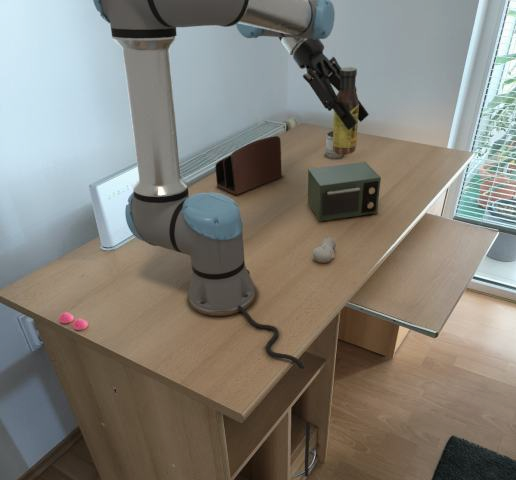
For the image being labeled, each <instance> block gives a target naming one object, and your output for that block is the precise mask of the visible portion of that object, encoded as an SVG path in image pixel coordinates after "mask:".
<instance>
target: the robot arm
mask: <svg viewBox="0 0 516 480" xmlns="http://www.w3.org/2000/svg"><path fill="white" fill-rule="evenodd" d="M92 1H93V4H94V7H95V9H96V11H97V12H99V14H100V17H101V18H102V19H103V20H104V21H105V22H107V23H108V24H110V31H111V38H112V40H113V41H114V42H115V43H116V44H117V45H118V46H119V47H120V48H121V50H122V55H123V56H122V58H123V65H124V74H125V81H126V88H127V89H126V90H127V97H128V104H129V112H130V119H131V126H132V134H133V143H134V150H135V151H134V152H135V158H136V164H137V165H136V166H137V173H138V174H137V175H138V180H137V181H136V182H135V183H134V184H133V187H132V190H133V191H132V193H131V194H130V195H129V197H128V198H127V202H128V204H126V205H125V208H124V209H125V210H124V211H125V221H126V225H127V227H128V229H129V231H130V233H131V234H132V235H133V236H134V237H135V238H136V239H138V240H139V241H142V242H145V243H146V244H148V245H151V246H155V247H159V248H164V249H167V250H170V251H174V252H178V253H181V254H184V255H187V256H189V257H190V263H191V269H192V274H191V279H190V283H189V287H188V300H189V304H190V306H191V308H192V309H193V310H195V311H196V312H197V313H199V314H201V315H203V316H204V315H205V316H209V317H228V316H232V315H236V314H239V313H241V314H242V315H243V316H244V317H245V318H246V320H247V321H248V322H249V323H250V324H251V325H252V326H253V327H254V328H258V329H264V330H271V331H273V333H274V334H273V335H272V336H271V337H270V339H269V340H268V341H267V343H266V345H265V350H266V352H267V354H268V355H270V356H271V357H273V358H279V359H285V360H290V361H292V362H293V363H295V364H296V365H297V366H298V368H299V369H301V370H304V369H305V367H304V364H303V363H302V362H301V361H300V360H299V359H298V358H297V357H295V356H293V355H291V354H288V353H287V354H286V353H280V352H275V351H274V350H272V349H271V346H272V345H273V344H274V342H275V341H276V340H277V339H278V337H279V329H278V328H277V327H276V326H273V325H269V324H261V323H258V322H256V321H255V320H254V319H253V318H252V317H251V315H250V314H249V313H248V311H246V309H248V308H250V307H251V306H252V304H253V303H254V301H255V298H256V287H255V283H254V282H253V279H252V277H251V273H250V271H249V270H248V269H247V266H246V262H245V250H244V249H245V248H244V236H243V235H244V234H243V227H244V226H243V225H244V224H243V221H242V216H241V211H240V208H239V205H238V204H237V202H236V201H235V200H234V199H233V198H231V197H229V196H227V195H225V194H222V193H219V192H213V191H212V192H211V191H209V192H208V193H206V192H198V193H193V194H191V195H189V184H188V182H186V181H185V180H184V179H183V178H182V177H181V171H180V160H179V147H178V146H179V145H178V135H177V123H176V112H175V111H176V110H175V100H174V99H175V98H174V91H173V90H174V87H173V76H172V74H173V73H172V63H171V51H170V50H171V49H170V48H171V46H172V45H173V43H174V41H175V40H176V39H177V38H178V36H177V28H193V27H205V26H206V27H207V26H219V27H224V28H228V27H233V26H235V27H236V30H237V31H238V33H239V34H240V35H241V36H242V37H244V38H246V39H257V38H259V37H272V38H278V40H279V41H280V42H281V44H282V45H283V47H284V48H285V49H286V51H287V52H288V54H289V55H290V56H292V59H293V60H294V62H295V64H297V66H298V67H299V69H301V70H304V69H306V71H305V72H304V73H303V74H302V78H303V79H304V80H305V81H306V82H307V83H308V85H309V86H310V87H311V89H312V91H313V92H314V93H315V95H316V97H317V99H318V100H319V101H320V102H321V104H322V106H323V107H324V108H325V109H327V110H328V112H331V111H332V110H333V112H334V111H335V112H336V114H337V115H338V116H339V118H340V119H341V121H342V122H343V123H344V125H345V126H346V127H347V129H348V130H350V129H351V128H352V127H353V126H354V125H355V124H356V123H357V121H356V120H355V119H354V117H353V116H352V114H351V113H350V112H349V110H348V109H347V107H346V106H345V105H344V103H343V102H342V101H341V102H339V100H338V98H337V93H336V92H335V90H334V88H335V89H336V90H337V91H338V92H339V90H340V69H342V68H343V67H341V66H340V65H339V63H338V61H337V59H336V57H335V56H332V57H330V58H328V57H327V56H326V55H325V54H324V50H325V45H324V43H323V42H322V41H321V40H325V39H327V38H328V37H329V36H330V35H331V33H332V31H333V29H334V26H335V25H334V23H335V18H336V17H335V14H336V13H335V6H334V5H333V2H332V1H331V0H92ZM355 89H356V92H357V87H355ZM358 101H359V113H358V122H360V123H361V122H363V121H364V120H365V119H366V118H367V117H368V116H369V115H370V114H369V112H368V111H367V110H366V108H365V107H364V105H363V104H362V102H361V101H360V100H359V99H358ZM310 437H311V422H310V421H308V422H305V446H304V477H305V478H308V477H309V465H310V463H309V460H310V439H311V438H310Z"/></svg>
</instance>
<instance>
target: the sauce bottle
mask: <svg viewBox="0 0 516 480" xmlns="http://www.w3.org/2000/svg"><path fill="white" fill-rule="evenodd" d="M341 68H342V69H340V90H339V91H338V92H337V93H336V96H337V98H338V100H339V102H341V101H342V102H343V103H344V105H345V106H346V107H347V109H348V110H349V112H350V113H351V114H352V116H353V117H354V119H355V120H356V121H357V123H356V124H355V125H354V126H353V127H352V128H351V129H350V130H348V129H347V127H346V126H345V125H344V123H343V122H342V121H341V119H340V118H339V116H338V115H337V114H336V112H335V111H334V110H333V124H332V125H333V127H332V128H333V129H332V131H333V151H334V152H335V153H337V154H343V155H350V154H352V153H354V152H355V151H356V149H357V139H358V129H359V128H358V127H359V120H358V113H359V101H360V100H359V98H358V93H357V91H356V90H357V87H356V78H357V75H358V70H357V68H356V67H352V66H351V67H350V66H347V67H341ZM355 87H356V89H355ZM358 100H359V101H358Z"/></svg>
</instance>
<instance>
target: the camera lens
mask: <svg viewBox="0 0 516 480" xmlns="http://www.w3.org/2000/svg"><path fill="white" fill-rule="evenodd" d="M325 154H326V157H327V158H329V159H340V158H342V157H343V156H344V154H337V153H335V152H334V151H333V130H332V131H329V132H328V133H327V134H325Z"/></svg>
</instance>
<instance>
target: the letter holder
mask: <svg viewBox="0 0 516 480" xmlns="http://www.w3.org/2000/svg"><path fill="white" fill-rule="evenodd" d="M281 144H282V143H281V138H280V136H278V135H274V136H268V137H264V138H261V139H258V140H254V141H251V142H249V143H247V144H245V145H242V146H241V147H239V148H237V149H235V150H234V151H232V153H231V154H230V155H227V156H226V157H224V158H222V159H219V160H218V161H217V162H216V163H215V166H214V167H215V168H214V169H215V177H216V178H215V179H216V187H217V188H219V189H221V190H223V191H225V192H228V193H229V194H232V195H234V196H238V195H241V194H244V193H246V192H247V191H251V190H253V189H255V188H257V187H261V186H262V185H265V184H267V183H271V182H272V181H275V180H278V179H279V178H282V176H283V172H282V145H281Z"/></svg>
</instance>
